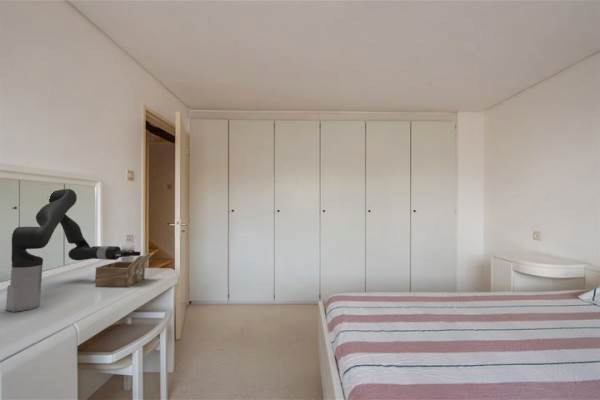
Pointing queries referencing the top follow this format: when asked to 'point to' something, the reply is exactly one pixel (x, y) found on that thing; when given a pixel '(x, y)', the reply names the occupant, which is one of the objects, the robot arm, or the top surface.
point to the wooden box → (119, 274)
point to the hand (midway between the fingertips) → (139, 253)
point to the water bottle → (128, 248)
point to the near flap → (141, 259)
